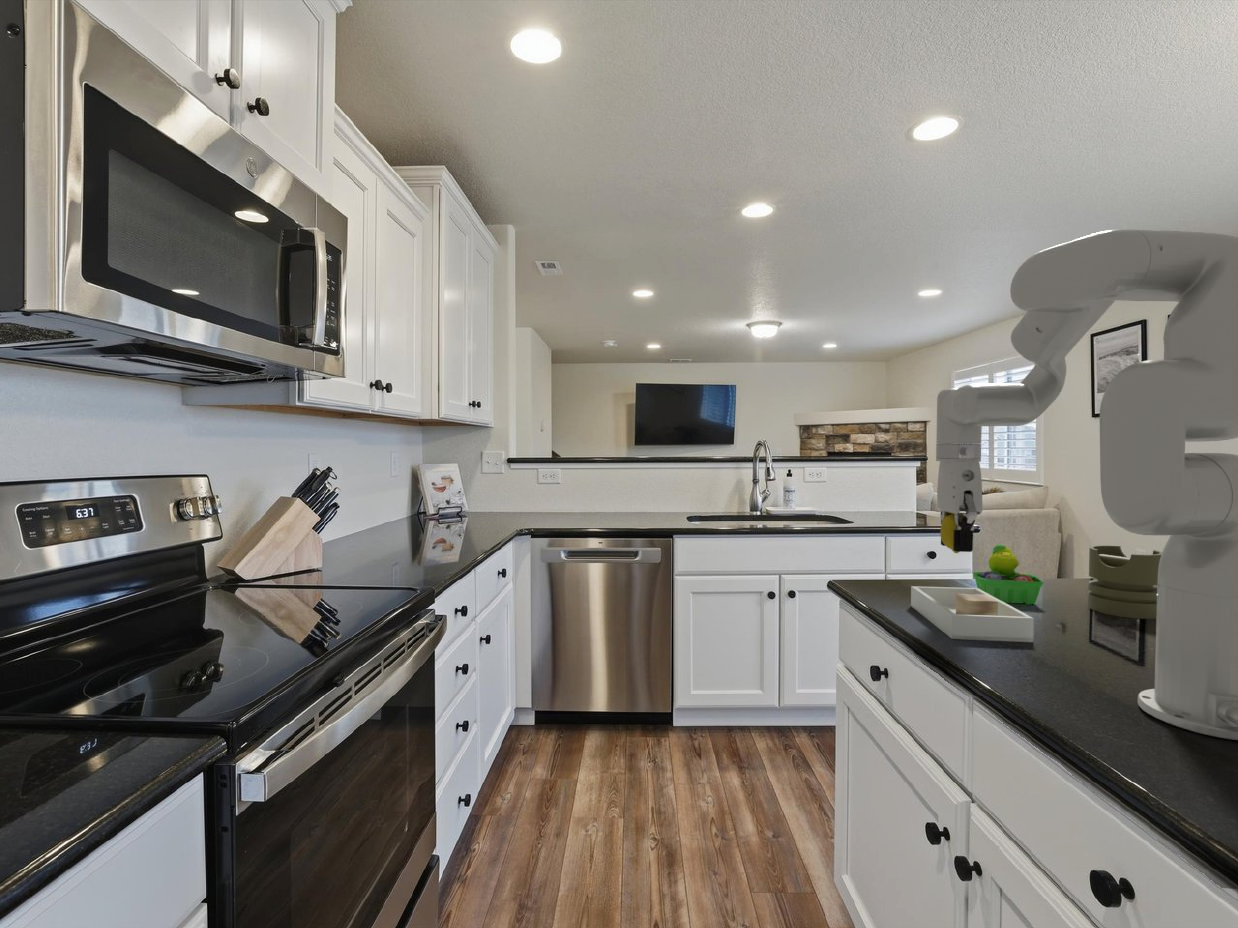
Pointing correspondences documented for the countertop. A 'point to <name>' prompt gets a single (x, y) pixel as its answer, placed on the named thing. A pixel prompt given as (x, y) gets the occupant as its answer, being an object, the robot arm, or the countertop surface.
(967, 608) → the cube
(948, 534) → the lemon
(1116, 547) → the piston
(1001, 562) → the fruit basket
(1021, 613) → the tray
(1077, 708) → the countertop surface
